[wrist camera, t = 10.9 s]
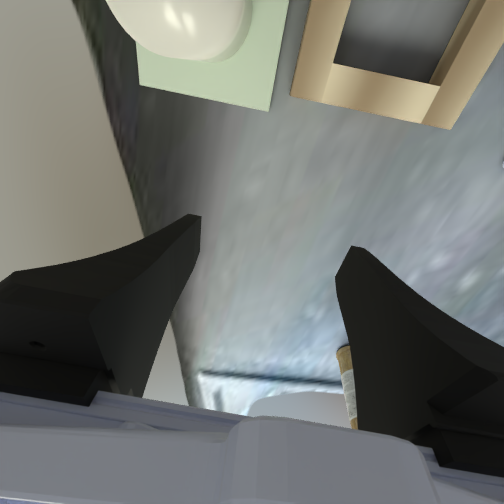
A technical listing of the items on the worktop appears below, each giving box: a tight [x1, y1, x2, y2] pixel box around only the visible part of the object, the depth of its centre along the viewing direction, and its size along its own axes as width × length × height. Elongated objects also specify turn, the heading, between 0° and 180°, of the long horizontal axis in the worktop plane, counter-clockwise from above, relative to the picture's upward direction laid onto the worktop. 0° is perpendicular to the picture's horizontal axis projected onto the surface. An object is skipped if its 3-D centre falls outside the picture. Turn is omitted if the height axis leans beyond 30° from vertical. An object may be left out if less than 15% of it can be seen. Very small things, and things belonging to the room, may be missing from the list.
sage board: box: [136, 0, 289, 112], centre depth 14 cm, size 9×9×1 cm
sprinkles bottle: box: [336, 345, 358, 430], centre depth 28 cm, size 5×5×14 cm
